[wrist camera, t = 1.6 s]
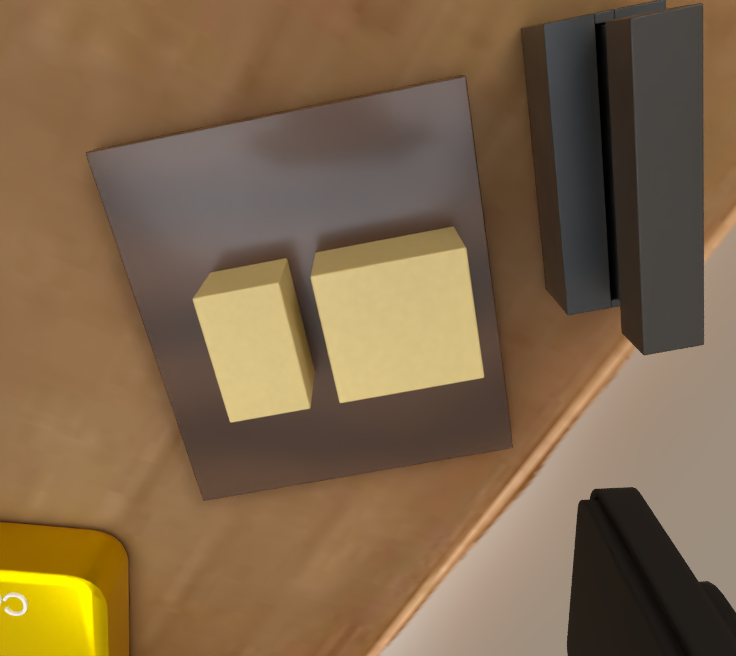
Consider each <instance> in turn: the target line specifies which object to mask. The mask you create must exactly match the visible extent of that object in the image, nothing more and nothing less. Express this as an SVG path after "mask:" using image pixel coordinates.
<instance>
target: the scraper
mask: <svg viewBox="0 0 736 656" xmlns="http://www.w3.org/2000/svg"><path fill="white" fill-rule="evenodd" d="M595 37H596V55H597V72H598V89H599V106H600V124H601V141H602V158H603V175H604V193H605V210H606V227H607V244H608V262H609V279H610V293H611V294H613V295H614V296H615V297H616V298H617V299H618V300H619V301H620V308H621V328H622V333H623V334H624V335H625V337H626V338H627V339H628V340H629V341H630V342H631V343H632V344H633V345H634V346H635V347H636V348H637V349H638V350H639V351H640V352H641V353H642V354H643V355H649V354H654V353H660V352H666V351H671V350H677V349H683V348H688V347H694V346H699V345H704V195H703V4H702V3H699V4H693V5H686V6H680V7H674V8H668V9H663V10H658V11H653V12H648V13H644V14H639V15H634V16H629V17H624V18H619V19H614V20H609V21H606V25H598V26H595Z"/></svg>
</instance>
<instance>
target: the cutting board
mask: <svg viewBox="0 0 736 656" xmlns="http://www.w3.org/2000/svg"><path fill="white" fill-rule="evenodd" d="M86 156H87V158H88V161H89V164H90V167H91V170H92V173H93V176H94V179H95V182H96V185H97V188H98V191H99V194H100V197H101V200H102V203H103V206H104V209H105V212H106V214H107V217H108V220H109V223H110V226H111V229H112V232H113V235H114V238H115V241H116V244H117V247H118V250H119V253H120V256H121V259H122V262H123V265H124V268H125V270H126V273H127V276H128V279H129V282H130V285H131V288H132V291H133V294H134V297H135V300H136V303H137V306H138V309H139V312H140V315H141V318H142V321H143V324H144V327H145V329H146V332H147V335H148V338H149V341H150V344H151V347H152V350H153V353H154V356H155V359H156V362H157V365H158V368H159V371H160V374H161V377H162V380H163V383H164V385H165V388H166V391H167V394H168V397H169V400H170V403H171V406H172V409H173V412H174V415H175V418H176V421H177V424H178V427H179V430H180V433H181V436H182V439H183V441H184V444H185V447H186V450H187V453H188V456H189V459H190V462H191V465H192V468H193V471H194V474H195V477H196V480H197V483H198V486H199V489H200V492H201V495H202V497H203V500H204V501H206V500H211V499H217V498H223V497H229V496H235V495H241V494H246V493H252V492H258V491H264V490H270V489H276V488H281V487H287V486H293V485H299V484H305V483H311V482H316V481H322V480H328V479H334V478H340V477H346V476H351V475H357V474H363V473H369V472H375V471H381V470H387V469H392V468H398V467H404V466H410V465H416V464H422V463H427V462H433V461H439V460H445V459H451V458H457V457H462V456H468V455H474V454H480V453H486V452H492V451H497V450H503V449H509V448H513V444H512V436H511V428H510V420H509V412H508V404H507V396H506V388H505V381H504V373H503V365H502V357H501V349H500V341H499V333H498V325H497V318H496V310H495V302H494V294H493V286H492V278H491V270H490V262H489V255H488V247H487V239H486V231H485V223H484V215H483V207H482V199H481V192H480V184H479V176H478V168H477V160H476V152H475V144H474V136H473V129H472V121H471V113H470V105H469V97H468V89H467V81H466V76H462V75H459V76H454V77H449V78H444V79H439V80H434V81H429V82H424V83H419V84H414V85H409V86H404V87H399V88H394V89H389V90H384V91H380V92H375V93H370V94H365V95H360V96H355V97H350V98H345V99H340V100H335V101H330V102H325V103H320V104H315V105H310V106H305V107H300V108H295V109H290V110H285V111H280V112H276V113H271V114H266V115H261V116H256V117H251V118H246V119H241V120H236V121H231V122H226V123H221V124H216V125H211V126H206V127H201V128H196V129H191V130H186V131H181V132H176V133H172V134H167V135H162V136H157V137H152V138H147V139H142V140H137V141H132V142H127V143H122V144H117V145H112V146H107V147H102V148H97V149H94V150H92V151H89V152H86ZM447 227H454V228H455V230H456V231H457V233H458V235H459V236H460V238H461V240H462V242H463V243H464V245H465V247H466V249H467V256H468V263H469V270H470V277H471V285H472V292H473V299H474V306H475V313H476V321H477V328H478V335H479V342H480V349H481V356H482V364H483V371H484V378H480V379H475V380H469V381H463V382H458V383H452V384H446V385H441V386H435V387H429V388H424V389H418V390H413V391H407V392H401V393H396V394H390V395H384V396H379V397H373V398H367V399H362V400H356V401H350V402H345V403H340V402H339V399H338V394H337V390H336V386H335V382H334V377H333V373H332V369H331V364H330V360H329V356H328V351H327V347H326V343H325V339H324V334H323V330H322V326H321V321H320V317H319V313H318V309H317V304H316V300H315V296H314V291H313V287H312V283H311V278H310V277H311V272H312V267H313V262H314V257H315V253H316V252H321V251H326V250H332V249H337V248H342V247H347V246H353V245H358V244H363V243H368V242H374V241H379V240H384V239H390V238H395V237H400V236H405V235H411V234H416V233H421V232H426V231H432V230H437V229H442V228H447ZM284 258H286V259H287V260H288V263H289V268H290V272H291V276H292V280H293V284H294V288H295V292H296V296H297V300H298V305H299V309H300V313H301V317H302V321H303V325H304V329H305V333H306V337H307V342H308V346H309V350H310V354H311V358H312V362H313V366H314V370H315V376H314V384H313V391H312V399H311V407H310V409H305V410H299V411H294V412H288V413H283V414H277V415H271V416H266V417H260V418H254V419H249V420H243V421H237V422H232V423H231V422H230V421H229V417H228V414H227V411H226V408H225V404H224V401H223V398H222V395H221V391H220V388H219V385H218V381H217V378H216V375H215V372H214V368H213V365H212V362H211V359H210V355H209V352H208V349H207V345H206V342H205V339H204V336H203V332H202V329H201V326H200V322H199V319H198V316H197V313H196V309H195V306H194V303H193V297H194V296H195V294H196V293H197V292H198V290H199V289H200V287H201V286H202V284H203V283H204V281H205V280H206V278H207V277H208V275H209V274H210V273H211V272H216V271H221V270H226V269H232V268H237V267H242V266H248V265H253V264H258V263H263V262H269V261H274V260H279V259H284Z"/></svg>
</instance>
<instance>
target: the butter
mask: <svg viewBox="0 0 736 656" xmlns="http://www.w3.org/2000/svg"><path fill="white" fill-rule="evenodd" d="M310 278H311V283H312V287H313V291H314V296H315V300H316V304H317V309H318V313H319V317H320V321H321V326H322V330H323V334H324V339H325V343H326V347H327V351H328V356H329V360H330V364H331V369H332V373H333V377H334V382H335V386H336V390H337V394H338V399H339V402H340V403H345V402H350V401H356V400H362V399H367V398H373V397H379V396H384V395H390V394H396V393H401V392H407V391H413V390H418V389H424V388H429V387H435V386H441V385H446V384H452V383H458V382H463V381H469V380H475V379H480V378H484V371H483V364H482V356H481V349H480V342H479V335H478V328H477V321H476V313H475V306H474V299H473V292H472V285H471V277H470V270H469V263H468V256H467V249H466V247H465V245H464V243H463V242H462V240H461V238H460V236H459V235H458V233H457V231H456V230H455V228H454V227H447V228H442V229H437V230H432V231H426V232H421V233H416V234H411V235H405V236H400V237H395V238H390V239H384V240H379V241H374V242H368V243H363V244H358V245H353V246H347V247H342V248H337V249H332V250H326V251H321V252H316V253H315V257H314V262H313V267H312V272H311V277H310Z"/></svg>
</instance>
